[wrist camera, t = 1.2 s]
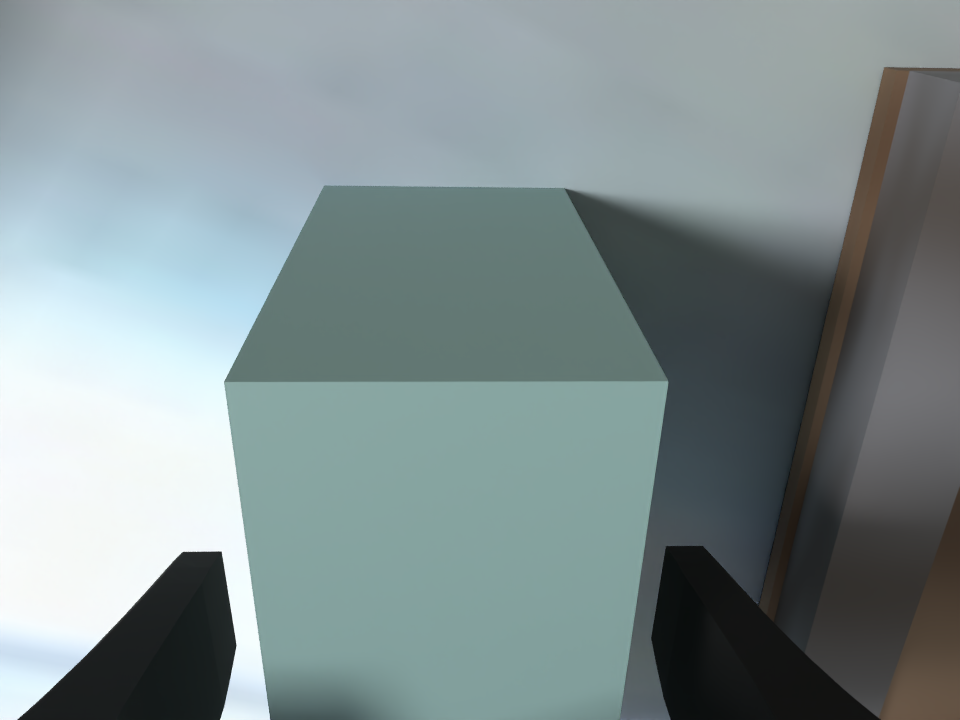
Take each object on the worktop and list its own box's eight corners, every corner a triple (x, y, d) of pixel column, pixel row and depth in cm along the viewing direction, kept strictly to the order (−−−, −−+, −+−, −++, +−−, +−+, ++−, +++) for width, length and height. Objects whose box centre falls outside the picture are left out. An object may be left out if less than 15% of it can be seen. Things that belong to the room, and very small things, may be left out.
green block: (528, 689, 19) (572, 1050, 13) (358, 693, 19) (316, 1061, 12) (563, 186, 14) (668, 381, 7) (324, 183, 13) (224, 382, 7)
